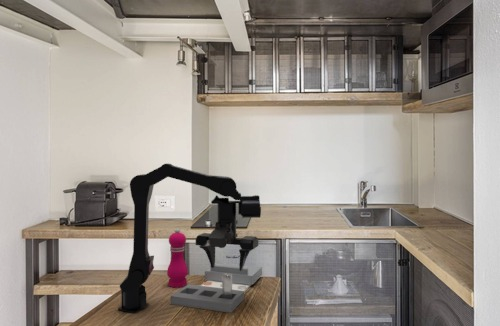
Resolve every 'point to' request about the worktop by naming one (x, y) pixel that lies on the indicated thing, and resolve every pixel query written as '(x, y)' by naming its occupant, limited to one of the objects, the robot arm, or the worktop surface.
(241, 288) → the plate
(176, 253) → the pepper mill
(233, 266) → the cover
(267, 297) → the worktop surface
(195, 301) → the hole board
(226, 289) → the pin
